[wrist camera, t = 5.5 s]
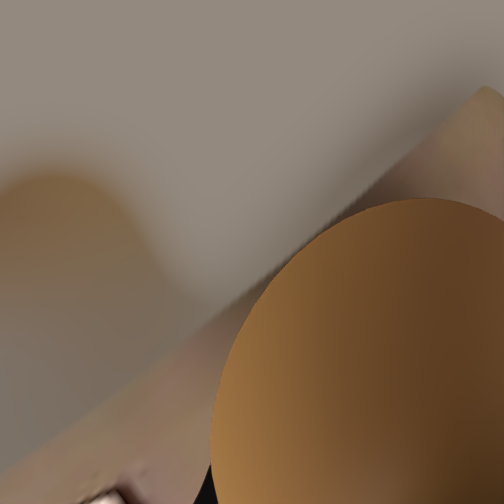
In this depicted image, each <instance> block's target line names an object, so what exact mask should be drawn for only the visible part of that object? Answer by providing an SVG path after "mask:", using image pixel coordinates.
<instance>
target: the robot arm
mask: <svg viewBox="0 0 504 504" xmlns="http://www.w3.org/2000/svg"><path fill="white" fill-rule="evenodd" d="M193 504H218V499H217V495H216V491H215V486H214V481H213V477H212V469H211V465H210V466H209V468H208V471H207V474H206V477H205V479H204V482H203V484H202V487H201V489H200V491H199V493H198V495H197V497H196V499H195V501H194V503H193Z"/></svg>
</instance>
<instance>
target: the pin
mask: <svg viewBox="0 0 504 504" xmlns="http://www.w3.org/2000/svg"><path fill="white" fill-rule="evenodd" d="M210 449H211V469H212V477H213V481H214V486H215V491H216V495H217V499H218V504H504V222H503V221H502V220H500V219H498V218H497V217H495V216H493V215H491V214H489V213H487V212H485V211H483V210H481V209H478V208H475V207H472V206H469V205H466V204H463V203H460V202H455V201H449V200H443V199H426V198H415V199H407V200H399V201H392V202H389V203H385V204H382V205H378V206H375V207H371V208H368V209H366V210H364V211H361V212H359V213H357V214H355V215H352V216H350V217H348V218H346V219H344V220H342V221H341V222H339V223H337V224H336V225H334V226H333V227H331V228H329V229H328V230H326V231H324V232H323V233H321V234H320V235H319V236H317V237H316V238H315V239H314V240H313V241H311V242H310V243H309V244H308V245H306V246H305V247H304V248H303V249H302V250H300V251H299V252H298V253H297V254H296V255H295V256H294V257H293V258H292V259H291V260H290V261H289V262H288V263H287V264H286V265H285V267H284V268H283V269H282V270H281V271H280V272H279V273H278V274H277V275H276V276H275V277H274V278H273V280H272V281H271V282H270V284H269V285H268V287H267V288H266V289H265V291H264V292H263V293H262V295H261V296H260V298H259V299H258V300H257V302H256V303H255V304H254V306H253V308H252V309H251V311H250V313H249V315H248V317H247V318H246V320H245V322H244V324H243V326H242V327H241V329H240V331H239V333H238V335H237V336H236V339H235V341H234V344H233V346H232V349H231V351H230V354H229V356H228V359H227V361H226V364H225V366H224V369H223V371H222V375H221V379H220V383H219V387H218V391H217V395H216V399H215V403H214V408H213V418H212V427H211V437H210Z"/></svg>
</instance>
